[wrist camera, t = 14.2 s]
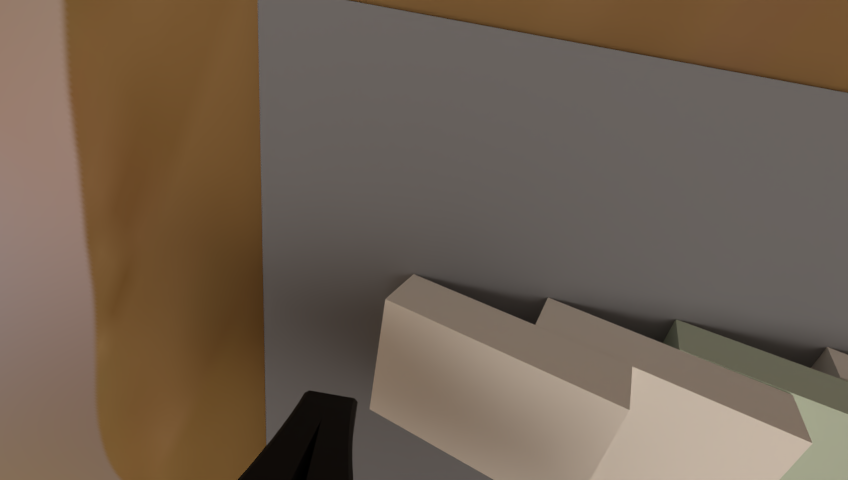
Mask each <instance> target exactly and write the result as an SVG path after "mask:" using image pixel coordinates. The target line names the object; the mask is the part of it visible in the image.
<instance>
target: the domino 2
mask: <svg viewBox="0 0 848 480" xmlns="http://www.w3.org/2000/svg"><path fill="white" fill-rule="evenodd" d="M535 325H536V326H539V327H541V328H544V329H546V330H548V331H551V332H553V333H555V334H558V335H560V336H563V337H565V338H567V339H570V340H572V341H575V342H577V343H579V344H582V345H584V346H586V347H589V348H591V349H594V350H596V351H598V352H601V353H603V354H606V355H608V356H610V357H613V358H615V359H617V360H620V361H622V362H625V363H627V364H629V365H632V381H631V397H630V411H629V412H628V414H627V416H626V418H625V419H624V421H623V423H622V425H621V426H620V428H619V430H618V432H617V434H616V435H615V437H614V439H613V441H612V442H611V444H610V446H609V448H608V450H607V451H606V453H605V455H604V457H603V458H602V460H601V462H600V464H599V466H598V467H597V469H596V471H595V473H594V474H593V476H592V478H591V480H780V479H781V477H782V476H783V475H784V474H785V473H786V472H787V471H788V470H789V469H790V468H791V466H792V465H793V464H794V463H795V462H796V461H797V460H798V459H799V458H800V457H801V456H802V454H803V453H804V452H805V451H806V450H807V449H808V448H809V447H810V446H811V445H812V441H811V438H810V436H809V433H808V431H807V428H806V426H805V424H804V421H803V419H802V416H801V414H800V411H799V409H798V406H797V404H796V402H795V399H794V397H793V395H791V394H789V393H786V392H784V391H781V390H779V389H776V388H774V387H771V386H769V385H766V384H764V383H761V382H759V381H756V380H754V379H751V378H749V377H746V376H744V375H741V374H739V373H736V372H734V371H731V370H729V369H726V368H724V367H721V366H719V365H716V364H714V363H711V362H709V361H706V360H703V359H701V358H698V357H696V356H693V355H691V354H688V353H686V352H683V351H681V350H678V349H676V348H673V347H671V346H668V345H666V344H663V343H661V342H658V341H656V340H653V339H651V338H648V337H646V336H643V335H641V334H638V333H636V332H633V331H631V330H628V329H626V328H623V327H621V326H618V325H616V324H613V323H611V322H608V321H606V320H603V319H601V318H598V317H596V316H593V315H591V314H588V313H586V312H583V311H581V310H578V309H576V308H573V307H571V306H568V305H566V304H563V303H561V302H558V301H556V300H553V299H551V298H548V299H547V301H546V303H545V305H544V307H543V309H542V311H541V314H540V316H539V318H538V320H537V322H536V324H535Z"/></svg>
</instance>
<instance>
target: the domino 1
mask: <svg viewBox="0 0 848 480" xmlns="http://www.w3.org/2000/svg"><path fill="white" fill-rule="evenodd" d="M631 381H632V365H629V364H627V363H625V362H622V361H620V360H617V359H615V358H613V357H610V356H608V355H606V354H603V353H601V352H598V351H596V350H594V349H591V348H589V347H586V346H584V345H582V344H579V343H577V342H575V341H572V340H570V339H567V338H565V337H563V336H560V335H558V334H555V333H553V332H551V331H548V330H546V329H544V328H541V327H539V326H536V325H534V324H532V323H529V322H527V321H524V320H522V319H520V318H517V317H515V316H513V315H510V314H508V313H505V312H503V311H501V310H498V309H496V308H493V307H491V306H489V305H486V304H484V303H482V302H479V301H477V300H474V299H472V298H470V297H467V296H465V295H462V294H460V293H458V292H455V291H453V290H451V289H448V288H446V287H443V286H441V285H439V284H436V283H434V282H431V281H429V280H427V279H424V278H422V277H420V276H417V275H415V274H413V275H412V276H411V277H410V278H409V279H407V280H406V281H405V282H404V283H403V284H402V285H401V286H400V287H398V288H397V289H396V290H395V291H394V292H393V293H392V294H391V295H389V296H388V297H387V298H386V299H385V305H384V312H383V319H382V326H381V333H380V339H379V346H378V353H377V360H376V367H375V374H374V381H373V388H372V395H371V402H370V410H372V411H374V412H375V413H377V414H379V415H381V416H382V417H384V418H386V419H388V420H389V421H391V422H393V423H395V424H396V425H398V426H400V427H402V428H403V429H405V430H407V431H409V432H411V433H412V434H414V435H416V436H418V437H419V438H421V439H423V440H425V441H426V442H428V443H430V444H432V445H433V446H435V447H437V448H439V449H440V450H442V451H444V452H446V453H447V454H449V455H451V456H453V457H455V458H456V459H458V460H460V461H462V462H463V463H465V464H467V465H469V466H470V467H472V468H474V469H476V470H477V471H479V472H481V473H483V474H484V475H486V476H488V477H490V478H491V479H493V480H591V478H592V476H593V474H594V473H595V471H596V469H597V467H598V466H599V464H600V462H601V460H602V458H603V457H604V455H605V453H606V451H607V450H608V448H609V446H610V444H611V442H612V441H613V439H614V437H615V435H616V434H617V432H618V430H619V428H620V426H621V425H622V423H623V421H624V419H625V418H626V416H627V414H628V412H629V411H630V397H631Z"/></svg>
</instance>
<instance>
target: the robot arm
mask: <svg viewBox="0 0 848 480" xmlns="http://www.w3.org/2000/svg"><path fill="white" fill-rule="evenodd" d="M357 404H358V402H357V401H356V399H355V398H351V397H345V396H339V395H333V394H328V393H322V392H316V391H310V390H309V391H307V392H305V393H304V394H303V396H302V398H301V399H300V401H299V402H298V404H297V405H296V407H295V408H294V410H293V411H292V413H291V414H290V416H289V417H288V418H287V420H286V421H285V422H284V424H283V425H282V426H281V428H280V429H279V430H278V432H277V433H276V434H275V436H274V437H273V438H272V439H271V441H270V442H269V443H268V444H267V446H266V447H265V448H264V449H263V451H262V452H261V453H260V454H259V456H258V457H257V458H256V459H255V460H254V462H253V463H252V464H251V465H250V466H249V468H248V469H247V470H246V471H245V472H244V473H243V474H242V475H241V477H240V478H239V479H238V480H353V462H352V447H353V433H354V426H355V419H356V411H357Z"/></svg>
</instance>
